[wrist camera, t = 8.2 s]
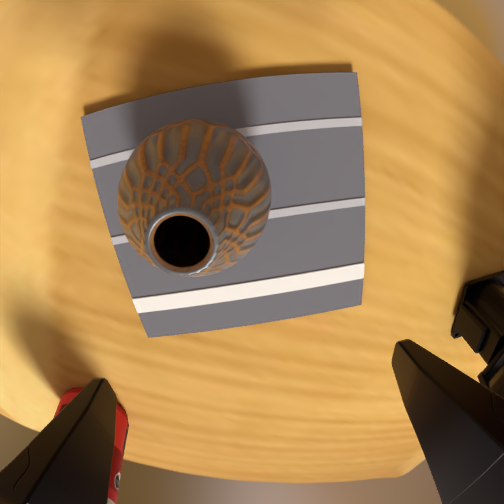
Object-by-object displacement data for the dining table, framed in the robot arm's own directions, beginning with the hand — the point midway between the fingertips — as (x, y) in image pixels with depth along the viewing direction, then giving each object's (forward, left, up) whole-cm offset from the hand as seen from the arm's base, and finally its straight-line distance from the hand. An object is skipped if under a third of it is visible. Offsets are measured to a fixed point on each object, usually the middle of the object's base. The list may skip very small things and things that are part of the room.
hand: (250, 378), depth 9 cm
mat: (0, -1, -12) cm, 12 cm away
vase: (+2, -3, -12) cm, 12 cm away
